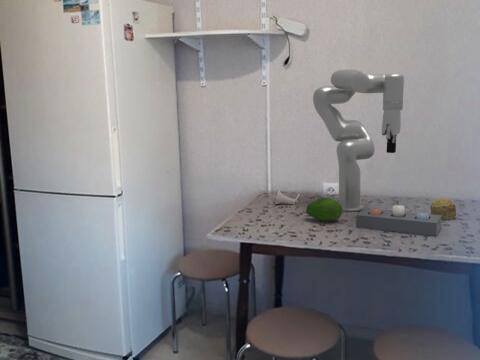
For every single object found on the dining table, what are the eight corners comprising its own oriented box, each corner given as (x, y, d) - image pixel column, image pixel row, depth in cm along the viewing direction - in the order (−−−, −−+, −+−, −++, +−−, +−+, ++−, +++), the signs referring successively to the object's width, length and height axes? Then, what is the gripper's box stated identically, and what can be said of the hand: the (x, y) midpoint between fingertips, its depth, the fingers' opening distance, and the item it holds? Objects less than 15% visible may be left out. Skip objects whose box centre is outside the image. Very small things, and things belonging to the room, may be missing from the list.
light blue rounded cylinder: (415, 227, 187) (415, 214, 186) (417, 224, 190) (417, 212, 190) (427, 228, 185) (427, 216, 184) (429, 226, 188) (429, 213, 187)
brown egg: (368, 222, 196) (368, 210, 195) (371, 219, 200) (371, 208, 199) (379, 223, 194) (379, 211, 193) (382, 221, 197) (382, 209, 197)
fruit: (303, 222, 205) (302, 199, 203) (310, 216, 214) (309, 194, 212) (339, 225, 198) (339, 201, 197) (344, 219, 207) (344, 196, 205)
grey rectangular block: (356, 227, 195) (356, 214, 194) (365, 219, 205) (365, 208, 204) (436, 236, 180) (436, 223, 179) (441, 227, 190) (442, 215, 189)
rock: (452, 229, 199) (466, 208, 198) (427, 215, 200) (440, 194, 199) (446, 224, 209) (459, 204, 207) (422, 211, 210) (435, 191, 208)
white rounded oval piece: (391, 219, 191) (391, 207, 190) (394, 216, 195) (394, 204, 194) (402, 220, 189) (403, 208, 188) (405, 218, 192) (405, 205, 192)
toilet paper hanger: (294, 212, 233) (298, 196, 231) (274, 206, 235) (277, 191, 233) (299, 203, 255) (302, 189, 254) (280, 198, 257) (283, 184, 256)
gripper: (388, 105, 200) (387, 149, 204) (377, 107, 188) (375, 154, 192) (407, 105, 196) (405, 150, 200) (397, 107, 184) (395, 155, 188)
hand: (391, 152), depth 196 cm, fingers closed
